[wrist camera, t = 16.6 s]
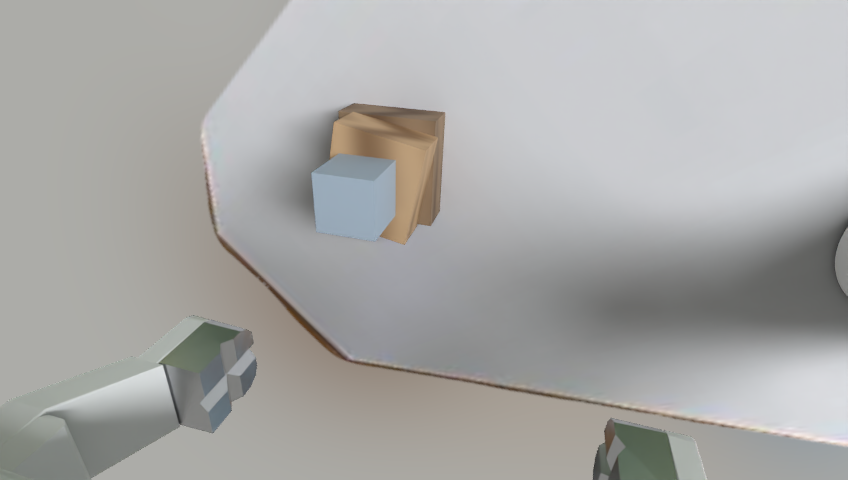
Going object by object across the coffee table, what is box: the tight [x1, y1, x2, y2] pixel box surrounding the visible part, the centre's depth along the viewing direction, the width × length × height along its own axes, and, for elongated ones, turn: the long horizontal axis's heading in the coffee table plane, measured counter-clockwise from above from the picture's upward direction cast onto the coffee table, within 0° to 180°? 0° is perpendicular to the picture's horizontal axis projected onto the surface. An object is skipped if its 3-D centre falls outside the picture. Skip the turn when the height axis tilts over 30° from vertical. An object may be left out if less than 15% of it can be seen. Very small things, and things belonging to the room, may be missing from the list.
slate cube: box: [311, 153, 396, 241], centre depth 38 cm, size 5×5×5 cm
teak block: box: [329, 112, 438, 245], centre depth 42 cm, size 8×9×4 cm
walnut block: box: [339, 103, 445, 226], centre depth 45 cm, size 9×10×4 cm
